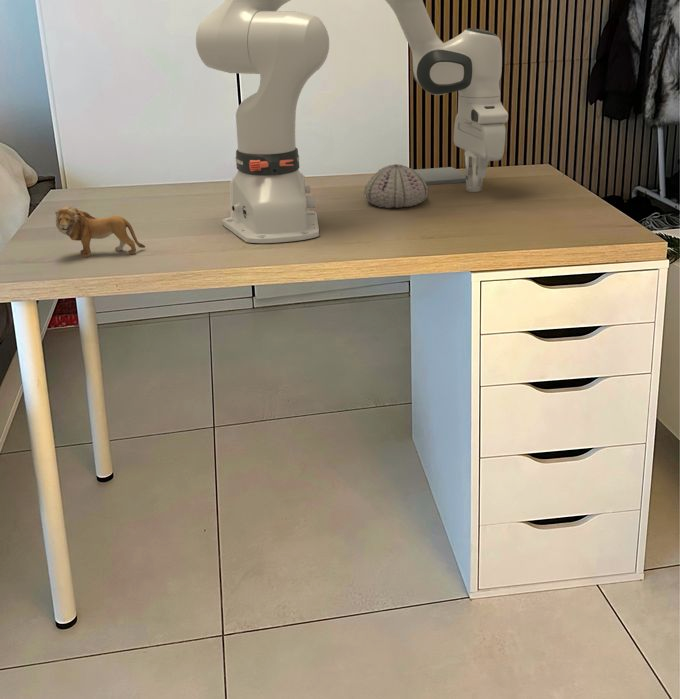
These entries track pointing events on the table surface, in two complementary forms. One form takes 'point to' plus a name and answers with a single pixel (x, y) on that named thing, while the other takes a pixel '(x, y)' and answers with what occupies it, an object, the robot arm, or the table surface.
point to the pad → (441, 175)
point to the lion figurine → (94, 229)
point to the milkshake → (472, 173)
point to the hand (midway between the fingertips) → (476, 173)
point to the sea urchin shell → (396, 187)
